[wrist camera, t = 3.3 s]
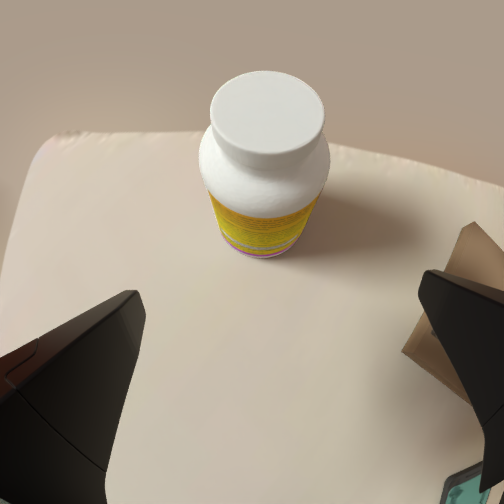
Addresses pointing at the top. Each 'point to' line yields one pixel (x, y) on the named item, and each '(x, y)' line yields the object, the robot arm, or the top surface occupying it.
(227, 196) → the supplement bottle
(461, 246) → the brown piece
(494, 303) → the robot arm
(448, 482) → the smartphone
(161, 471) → the top surface
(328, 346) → the top surface
